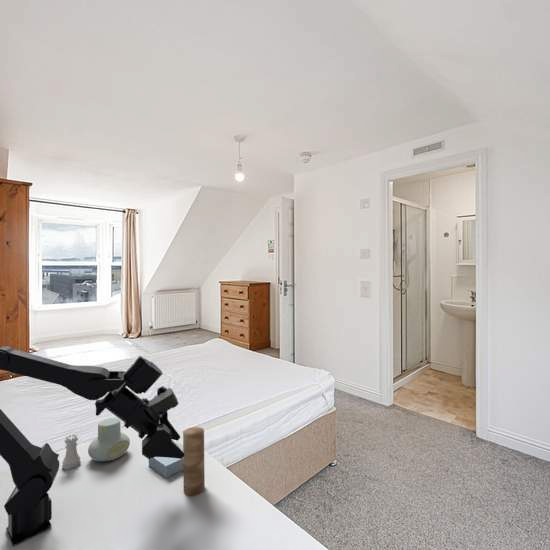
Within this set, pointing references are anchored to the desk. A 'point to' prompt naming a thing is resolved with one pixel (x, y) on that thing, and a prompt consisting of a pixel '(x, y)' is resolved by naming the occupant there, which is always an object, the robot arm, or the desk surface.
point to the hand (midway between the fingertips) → (181, 447)
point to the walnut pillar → (193, 461)
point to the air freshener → (109, 441)
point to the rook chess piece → (71, 453)
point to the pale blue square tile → (167, 464)
